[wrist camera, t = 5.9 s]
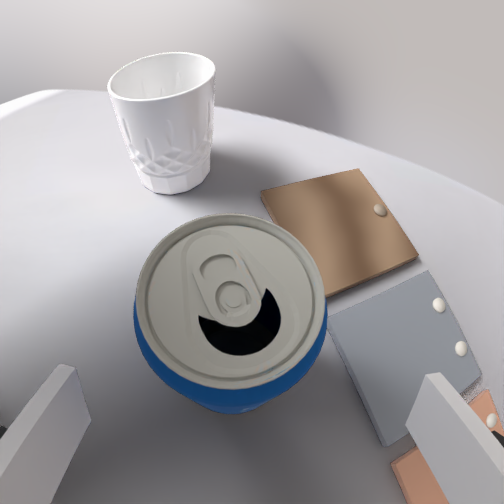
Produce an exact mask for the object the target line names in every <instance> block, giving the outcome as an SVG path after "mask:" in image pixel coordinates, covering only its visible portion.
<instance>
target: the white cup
mask: <svg viewBox="0 0 504 504" xmlns="http://www.w3.org/2000/svg"><path fill="white" fill-rule="evenodd" d="M215 72H216V69H215V65H214V63H213V62H212V61H211V60H209V59H208V58H206V57H204V56H201V55H198V54H194V53H186V52H170V53H169V52H168V53H161V54H155V55H151V56H147V57H144V58H141V59H138V60H136V61H133V62H131V63H129V64H127V65H126V66H124V67H122V68H121V69H119V70H118V71H117V72H116V73H115V74H114V75H113V76H112V77H111V78H110V80H109V82H108V92H109V95H110V98H111V101H112V105H113V108H114V111H115V114H116V117H117V120H118V124H119V127H120V130H121V133H122V136H123V139H124V142H125V144H126V147H127V149H128V152H129V155H130V158H131V160H132V161H133V162H134V165H135V167H136V170H137V173H138V175H139V178H140V180H141V182H142V185H143V186H145V187H146V188H148V189H150V190H151V191H153V192H154V193H161V194H169V195H172V194H177V193H181V192H186V191H189V190H190V189H192V188H194V187H195V186H197V185H199V184H200V183H202V182H203V180H204V179H205V177H206V176H207V174H208V173H209V172H210V152H211V145H212V135H213V116H214V92H215Z"/></svg>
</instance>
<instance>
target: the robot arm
mask: <svg viewBox="0 0 504 504" xmlns="http://www.w3.org/2000/svg"><path fill="white" fill-rule="evenodd" d="M90 422H91V417H90V414H89V411H88V408H87V405H86V401H85V398H84V395H83V391H82V388H81V384H80V381H79V377H78V373H77V369H76V367H73V366H68V365H63V364H59V365H58V366H57V367H56V368H55V369H54V371H53V372H52V373H51V374H50V375H49V377H48V378H47V379H46V380H45V382H44V383H43V384H42V385H41V387H40V388H39V389H38V390H37V392H36V393H35V394H34V395H33V397H32V398H31V399H30V401H29V402H28V403H27V404H26V406H25V407H24V408H23V410H22V411H21V412H20V413H19V415H18V416H17V417H16V419H15V420H14V421H13V423H12V424H11V425H10V427H9V428H8V429H7V428H5V427H2V426H1V427H0V504H51V502H52V499H53V497H54V495H55V493H56V491H57V489H58V486H59V484H60V482H61V480H62V478H63V476H64V474H65V472H66V470H67V468H68V466H69V464H70V461H71V459H72V457H73V455H74V453H75V451H76V449H77V447H78V445H79V443H80V441H81V440H82V438H83V436H84V434H85V432H86V430H87V428H88V426H89V424H90ZM405 426H406V427H407V429H408V431H409V433H410V434H411V436H412V438H413V439H414V441H415V443H416V445H417V446H418V448H419V450H420V452H421V453H422V455H423V457H424V459H425V460H426V462H427V464H428V466H429V467H430V469H431V471H432V473H433V475H434V476H435V478H436V480H437V482H438V484H439V486H440V487H441V489H442V491H443V493H444V495H445V497H446V498H447V500H448V502H449V504H504V436H502V435H501V434H499V433H498V432H496V431H495V430H494V431H492V432H491V431H490V430H489V429H488V428H487V426H486V425H485V424H484V423H483V422H482V420H481V419H480V418H479V417H478V416H477V414H476V413H475V412H474V411H473V410H472V408H471V407H470V406H469V405H468V404H467V403H466V401H465V400H464V399H463V398H462V397H461V395H460V394H459V393H458V392H457V391H456V390H455V389H454V387H453V386H452V385H451V384H450V383H449V382H448V381H447V379H446V378H445V377H444V376H443V375H442V374H441V373H440V372H438V373H432V374H426V375H425V377H424V380H423V382H422V385H421V388H420V390H419V393H418V395H417V398H416V400H415V403H414V405H413V408H412V410H411V412H410V415H409V417H408V419H407V421H406V424H405Z"/></svg>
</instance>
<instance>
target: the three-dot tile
mask: <svg viewBox="0 0 504 504" xmlns="http://www.w3.org/2000/svg"><path fill="white" fill-rule="evenodd" d="M468 405H469V406H470V407H471V408H472V410H473V411H474V412H475V413H476V414H477V416H478V417H479V418H480V419H481V420H482V422H483V423H484V424H485V425H486V426H487V428H488V429H489V430H490V431H491V432H492V431H494V430H495V431H496V432H498V433H499V434H501V435H502V436H504V431H503V428H502V425H501V422H500V419H499V416H498V414H497V411H496V408H495V406H494V403H493V400H492V398H491V395H490V393H489V390H484V391H482V392H481V393H480V394H479V395H477V396H476V397H475V398H474V399H473V400H472V401H471V402H470V403H469V404H468ZM390 464H391V466H392V469H393V471H394V473H395V476H396V478H397V480H398V483H399V485H400V487H401V490H402V492H403V495H404V497H405V499H406V502H407V504H449V502H448V500H447V498H446V497H445V495H444V493H443V491H442V489H441V487H440V486H439V484H438V482H437V480H436V478H435V476H434V475H433V473H432V471H431V469H430V467H429V466H428V464H427V462H426V460H425V459H424V457H423V455H422V453H421V452H420V450H419V448H418V446H415V447H414V448H412V449H411V450H409V451H408V452H407V453H405V454H404V455H402V456H401V457H399V458H398V459H396V460H395V461H393V462H392V463H390Z"/></svg>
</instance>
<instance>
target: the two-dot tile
mask: <svg viewBox="0 0 504 504" xmlns="http://www.w3.org/2000/svg"><path fill="white" fill-rule="evenodd" d="M327 328H328V330H329V332H330V334H331V337H332V339H333V341H334V343H335V345H336V347H337V349H338V351H339V353H340V355H341V357H342V359H343V361H344V363H345V366H346V368H347V370H348V372H349V374H350V376H351V378H352V380H353V383H354V385H355V387H356V389H357V391H358V393H359V395H360V398H361V400H362V402H363V404H364V406H365V408H366V411H367V413H368V415H369V417H370V419H371V421H372V424H373V426H374V428H375V430H376V433H377V435H378V437H379V439H380V441H381V444H382V446H384V447H388V446H390V445H391V444H393V443H395V442H396V441H398V440H399V439H401V438H402V437H404V436H405V435H407V434H408V433H409V431H408V429H407V427H406V426H405V424H406V421H407V419H408V417H409V415H410V412H411V410H412V408H413V405H414V403H415V400H416V398H417V395H418V393H419V390H420V388H421V385H422V382H423V380H424V377H425V375H426V374H432V373H438V372H440V373H441V374H442V375H443V376H444V377H445V378H446V379H447V381H448V382H449V383H450V384H451V385H452V386H453V387H454V389H455V390H456V391H457V392H458V393H459V394H460V393H462V392H463V391H464V390H465V389H466V388H467V387H468V386H470V385H471V384H472V383H473V382H474V381H475V380H476V379H477V378H478V377H479V376H481V375H482V374H481V371H480V369H479V367H478V364H477V362H476V360H475V358H474V356H473V353H472V351H471V349H470V347H469V345H468V343H467V341H466V339H465V337H464V335H463V333H462V331H461V329H460V327H459V325H458V323H457V321H456V319H455V317H454V315H453V313H452V311H451V309H450V308H449V306H448V304H447V302H446V300H445V298H444V297H443V295H442V293H441V291H440V290H439V288H438V286H437V284H436V283H435V281H434V279H433V277H432V276H431V274H430V272H429V271H428V270H427V271H425V272H423V273H421V274H419V275H417V276H415V277H413V278H411V279H409V280H407V281H405V282H403V283H401V284H399V285H397V286H395V287H393V288H391V289H389V290H387V291H385V292H383V293H381V294H378V295H376V296H374V297H372V298H370V299H368V300H365V301H363V302H361V303H359V304H357V305H354V306H352V307H350V308H348V309H346V310H343V311H341V312H339V313H336V314H334V315H332V316H329V317H327Z"/></svg>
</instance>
